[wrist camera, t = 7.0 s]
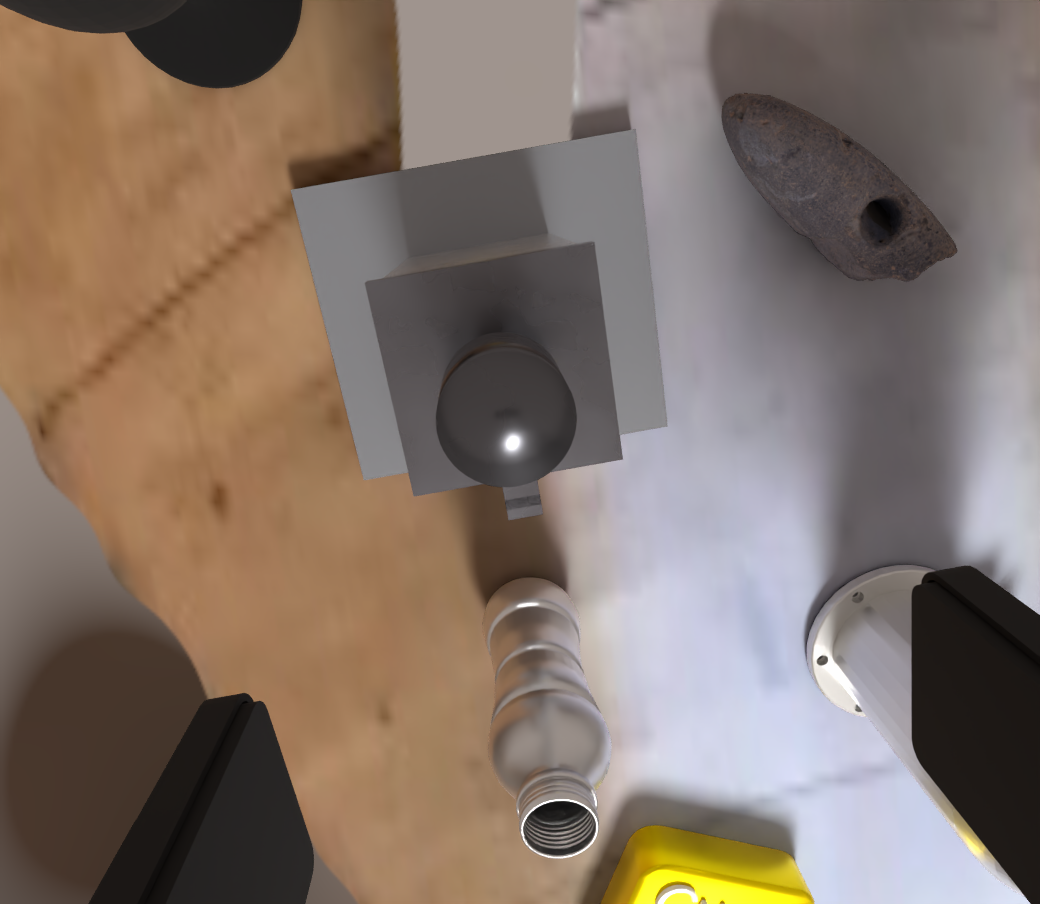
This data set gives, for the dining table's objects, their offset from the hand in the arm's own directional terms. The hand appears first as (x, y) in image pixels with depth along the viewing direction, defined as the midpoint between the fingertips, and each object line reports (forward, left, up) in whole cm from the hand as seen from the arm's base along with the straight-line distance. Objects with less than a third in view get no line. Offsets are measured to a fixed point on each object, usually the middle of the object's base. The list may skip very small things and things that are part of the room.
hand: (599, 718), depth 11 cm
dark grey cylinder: (+1, -1, -33) cm, 33 cm away
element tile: (-7, +51, -39) cm, 65 cm away
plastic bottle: (+2, +20, -38) cm, 43 cm away
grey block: (+1, +1, -37) cm, 37 cm away
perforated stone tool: (-19, -5, -38) cm, 43 cm away
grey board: (+1, -1, -38) cm, 38 cm away
